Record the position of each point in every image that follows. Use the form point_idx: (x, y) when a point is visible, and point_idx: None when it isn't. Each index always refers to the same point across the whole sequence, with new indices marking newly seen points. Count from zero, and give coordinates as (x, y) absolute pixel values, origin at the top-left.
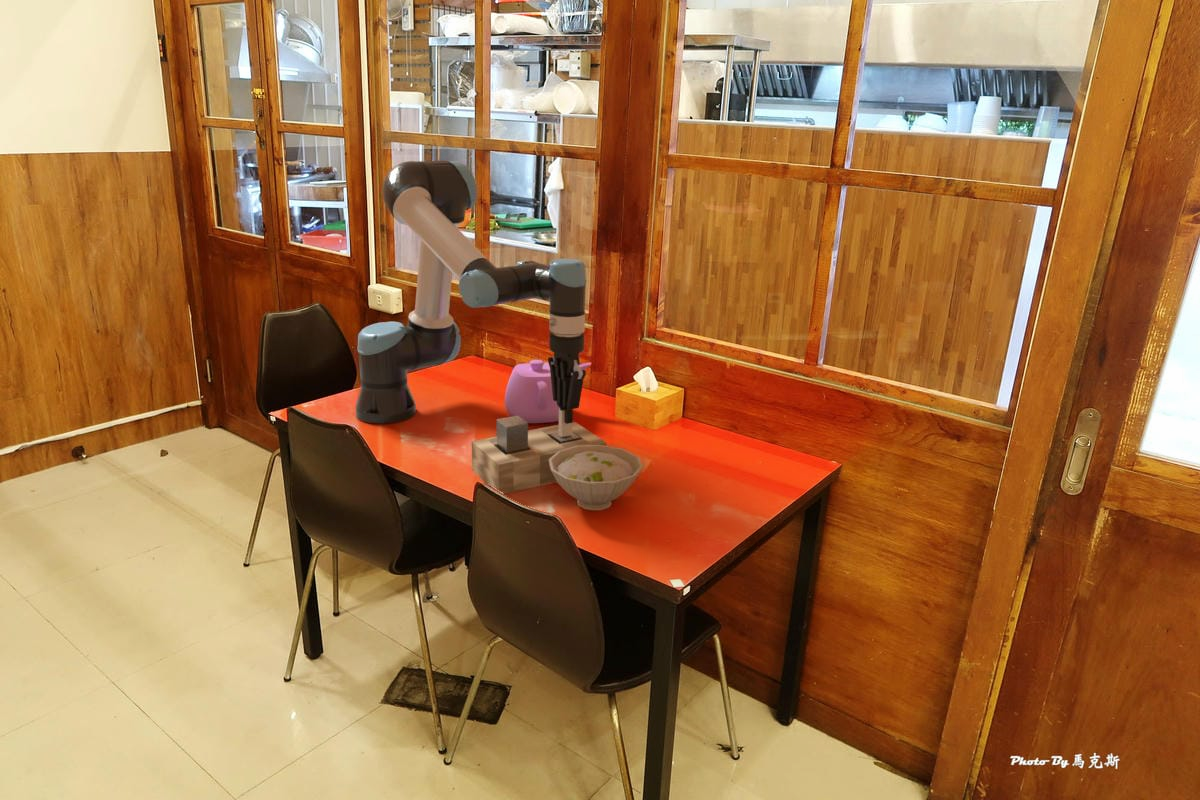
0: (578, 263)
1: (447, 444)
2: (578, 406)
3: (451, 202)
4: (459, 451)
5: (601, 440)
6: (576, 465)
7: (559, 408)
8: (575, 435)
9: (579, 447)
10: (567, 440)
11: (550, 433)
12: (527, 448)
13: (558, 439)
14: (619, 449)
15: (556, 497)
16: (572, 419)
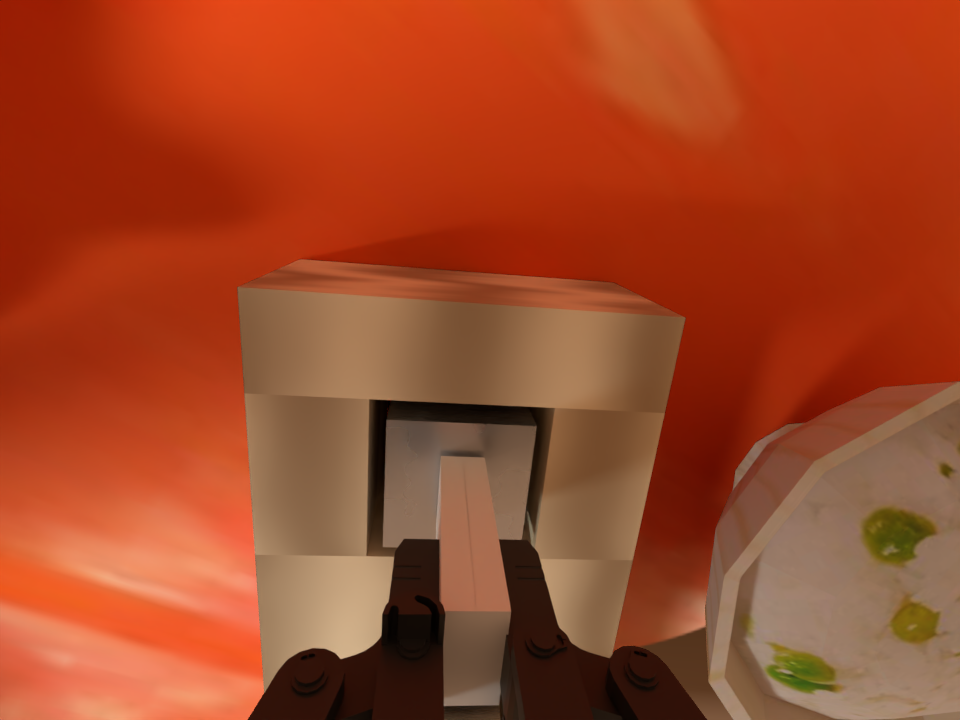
0: None
1: (7, 698)
2: (669, 675)
3: None
4: (105, 684)
5: (644, 327)
6: (926, 708)
7: (449, 701)
8: (491, 434)
9: (741, 573)
10: (524, 507)
11: (365, 531)
12: (498, 708)
13: None
14: (945, 404)
15: (673, 565)
16: (540, 563)
